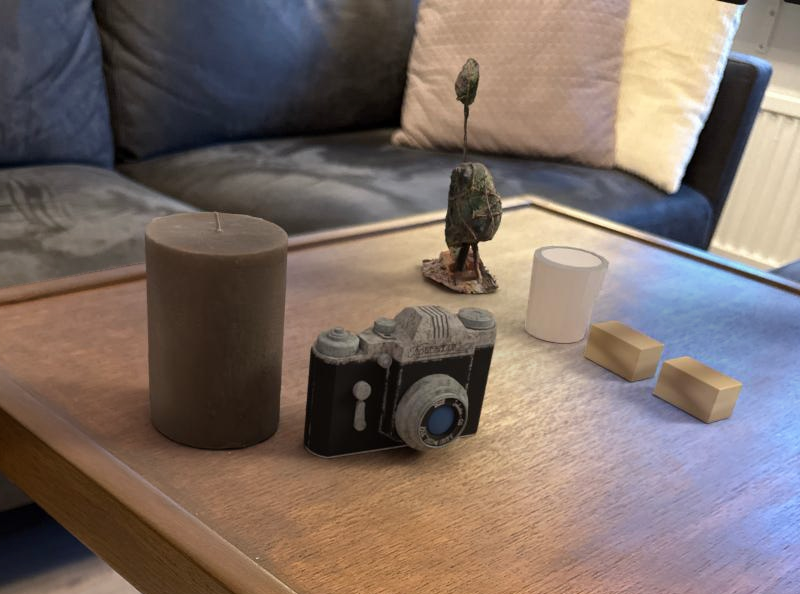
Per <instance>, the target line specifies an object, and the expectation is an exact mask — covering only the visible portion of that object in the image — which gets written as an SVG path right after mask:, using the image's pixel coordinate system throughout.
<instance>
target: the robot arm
mask: <svg viewBox="0 0 800 594" xmlns="http://www.w3.org/2000/svg"><path fill="white" fill-rule="evenodd" d="M748 1H749V0H715V2H721V3H727V4H731V5H737V6H745V5H747V3H748ZM783 2H784V3H786V4H792V5H797V6H800V0H783Z"/></svg>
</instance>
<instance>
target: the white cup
mask: <svg viewBox="0 0 800 594" xmlns="http://www.w3.org/2000/svg"><path fill="white" fill-rule="evenodd" d="M609 265H610V261H609V260H607V259H606V258H605V257H604V256H602V255H601V254H598V253H596V252H594V251H590V250H586V249H583V248H579V247H572V246H568V245H567V246H566V245H565V246H564V245H549V246H548V245H547V246H541V247H538V248H536V249H535V250H534V253H533V259H532V266H531V275H530V282H529V290H528V291H529V292H528V298H527V299H528V300H527V306H526V307H527V308H526V313H525V314H526V315H525V323H524V324H525V325H524V329H525V331H526V332H527V333H528V334H529V335H531V336H533V337H534V338H536V339H539V340H543V341H546V342H550V343H557V344H572V343H577V342H580V341H582V340H583V339H584V336H585V333H586V331H587V328H588V325H589V322H590V319H591V317H592V314H593V311H594V307H595V305H596V303H597V299H598V297H599V295H600V291H601V289H602V286H603V283H604V280H605V277H606V275H607V272H608V269H609Z"/></svg>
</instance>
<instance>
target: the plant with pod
mask: <svg viewBox="0 0 800 594" xmlns="http://www.w3.org/2000/svg"><path fill="white" fill-rule="evenodd" d="M479 81H480V65H479V63H478V62H477V60H475V58H472V57H469V58H468V59H467V60H466V62H465V64H464V65H462V67H461V70H460V71H459V73H458V75H457V76H456V79H455V82H454V92H455V95H456V98H455V100H456V102H460V103H461V104H462V105H463V118H464V119H463V120H464V121H463V133H464V135H463V148H462V149H463V150H462V151H463V156H462V163H461V164H460V165H458V166H455V167H453V169H452V170H451V175H450V176H449V177H450V183H449V188H448V189H449V190H448V191H447V192H448V194H447V209H446V214H445V217H444V222H445V225H444V227H445V228H444V237H445V238H444V243H445V244H446V247H447V249H448V250H443V251H442V250H441V251H440V253H439V256H438V258H435V257H434V258H431V259H428V258H427V259H422V262H421V263H422V267H423V268H422V271H421V273H423V274H422V276H424V277H425V278H429V279H431V280H434V282H437V283H440V284H442V285H444V286H445V287H447V288H449V289H451V290H452V291H455V292H458V293H461V294H468V295H470V294H471V293H473V294H474V295H476V294H480V293H481V294H489V293H490V292H494V291H496V290H498V289H499V288H500V286H499V283H498V282H497V280H498V279H497V278H496V275H495V274H494V275H493V274H492V273H490V270H489V269H486V268H487V266H485V265H484V262H483V260H482V258H481V255H480V253H479V250H480V249H479V245H478V244H479V243H485V242H488V241H489V242H490V241H493V239H494V238H495V235H496V234H497V232H498V230H499V228H500V225H501V222H502V218H503V211H504V210H503V203H502V200H501V194H500V193H499V191H498V190H497V188H496V187H497V186H496V184H495V182H494V178H493V176H492V174H491V173H490V171H489V169H488V168H487V167H486V166H485V165H484V164H483V163H482V162H474V161H467V146H468V145H467V144H468V142H467V141H468V131H467V128H468V119H469V117H470V107H469V106H471V105H473V103H474V102H475V99H476V97H477V91H478V88H479ZM466 161H467V162H466Z"/></svg>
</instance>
